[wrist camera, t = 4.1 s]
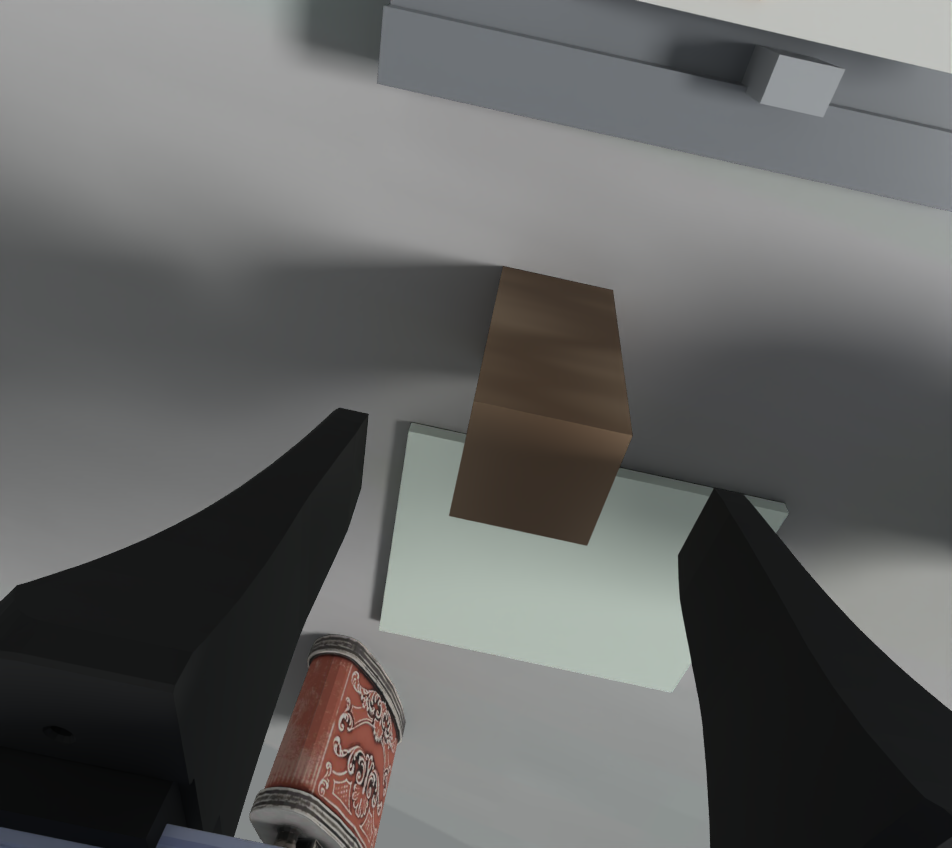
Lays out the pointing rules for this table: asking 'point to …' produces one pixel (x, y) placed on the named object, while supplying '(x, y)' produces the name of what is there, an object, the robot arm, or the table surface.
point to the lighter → (333, 753)
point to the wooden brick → (545, 411)
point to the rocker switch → (846, 24)
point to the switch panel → (685, 87)
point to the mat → (546, 574)
